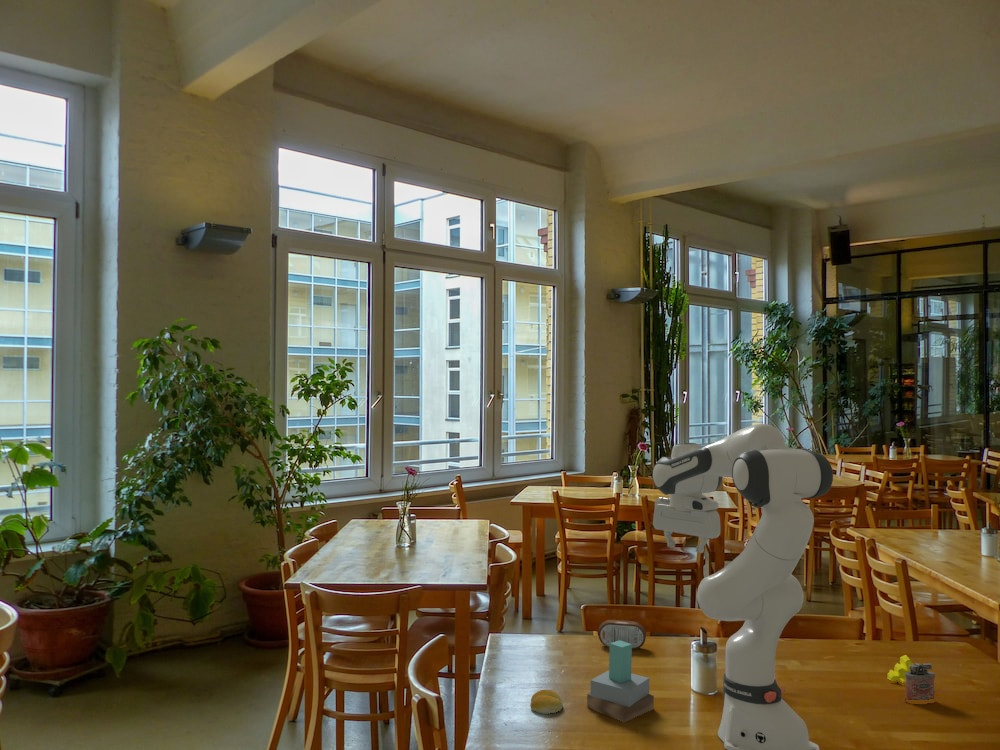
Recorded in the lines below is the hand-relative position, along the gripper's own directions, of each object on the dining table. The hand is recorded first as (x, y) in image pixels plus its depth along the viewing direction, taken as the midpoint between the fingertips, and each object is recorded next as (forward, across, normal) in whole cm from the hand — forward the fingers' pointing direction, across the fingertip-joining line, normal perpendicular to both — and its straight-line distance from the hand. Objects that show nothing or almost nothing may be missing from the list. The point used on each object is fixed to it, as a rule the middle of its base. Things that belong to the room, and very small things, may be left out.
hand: (685, 549), depth 218 cm
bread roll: (+38, -14, -41) cm, 58 cm away
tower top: (+34, -1, -27) cm, 43 cm away
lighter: (+37, +49, +36) cm, 71 cm away
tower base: (+38, -1, -27) cm, 47 cm away
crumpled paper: (+37, +40, +48) cm, 73 cm away
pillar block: (+30, -1, -28) cm, 40 cm away
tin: (+37, -30, +10) cm, 49 cm away
